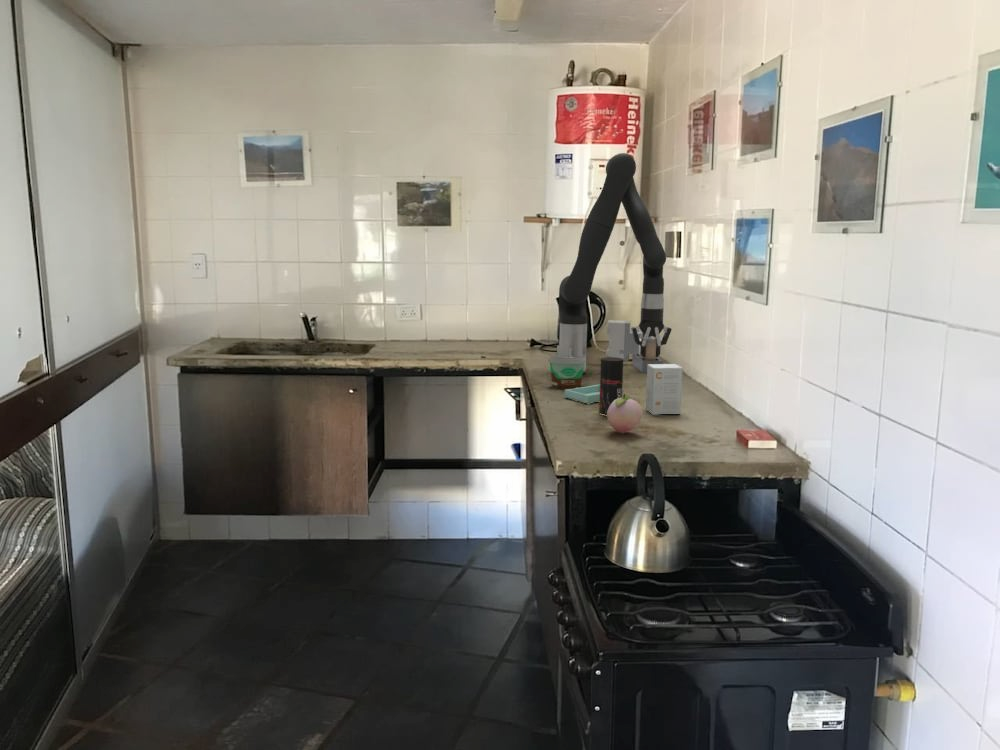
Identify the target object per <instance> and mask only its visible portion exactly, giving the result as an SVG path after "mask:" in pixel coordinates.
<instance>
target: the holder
mask: <svg viewBox="0 0 1000 750" xmlns="http://www.w3.org/2000/svg"><path fill="white" fill-rule="evenodd" d="M641 339H642V336H640V341H641ZM648 339H652V336H651V337H648ZM631 356H632V357H631V359H632V360H631V361H632V362H631V366H633V367H634V368H635V369H637V370H638V371H639V372H640V373H642V374H647V365H648V364H664V362H663V361H664V360H662V359H660V358H659V356H658V357H656V360H644V357H642V355H641V354H640V345H639V354H631Z"/></svg>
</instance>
